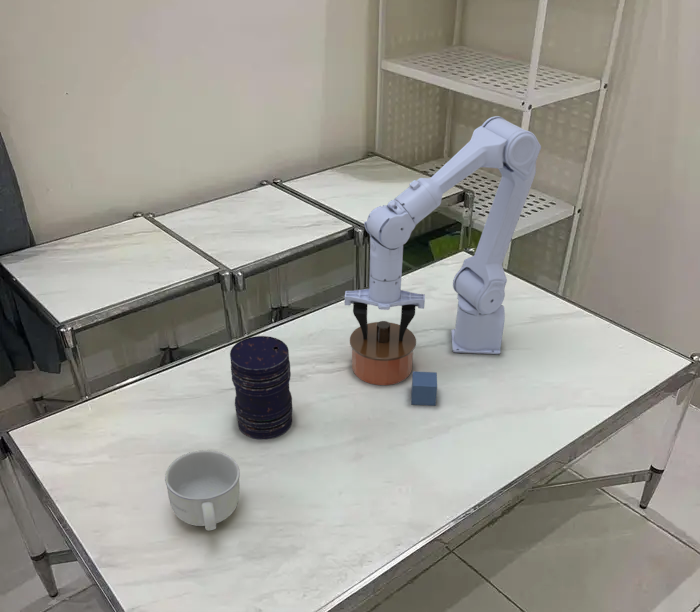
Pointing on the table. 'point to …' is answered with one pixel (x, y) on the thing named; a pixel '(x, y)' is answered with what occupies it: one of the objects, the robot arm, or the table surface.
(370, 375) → the bowl
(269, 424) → the storage jar
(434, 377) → the block
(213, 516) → the teacup
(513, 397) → the table surface
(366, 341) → the lid
